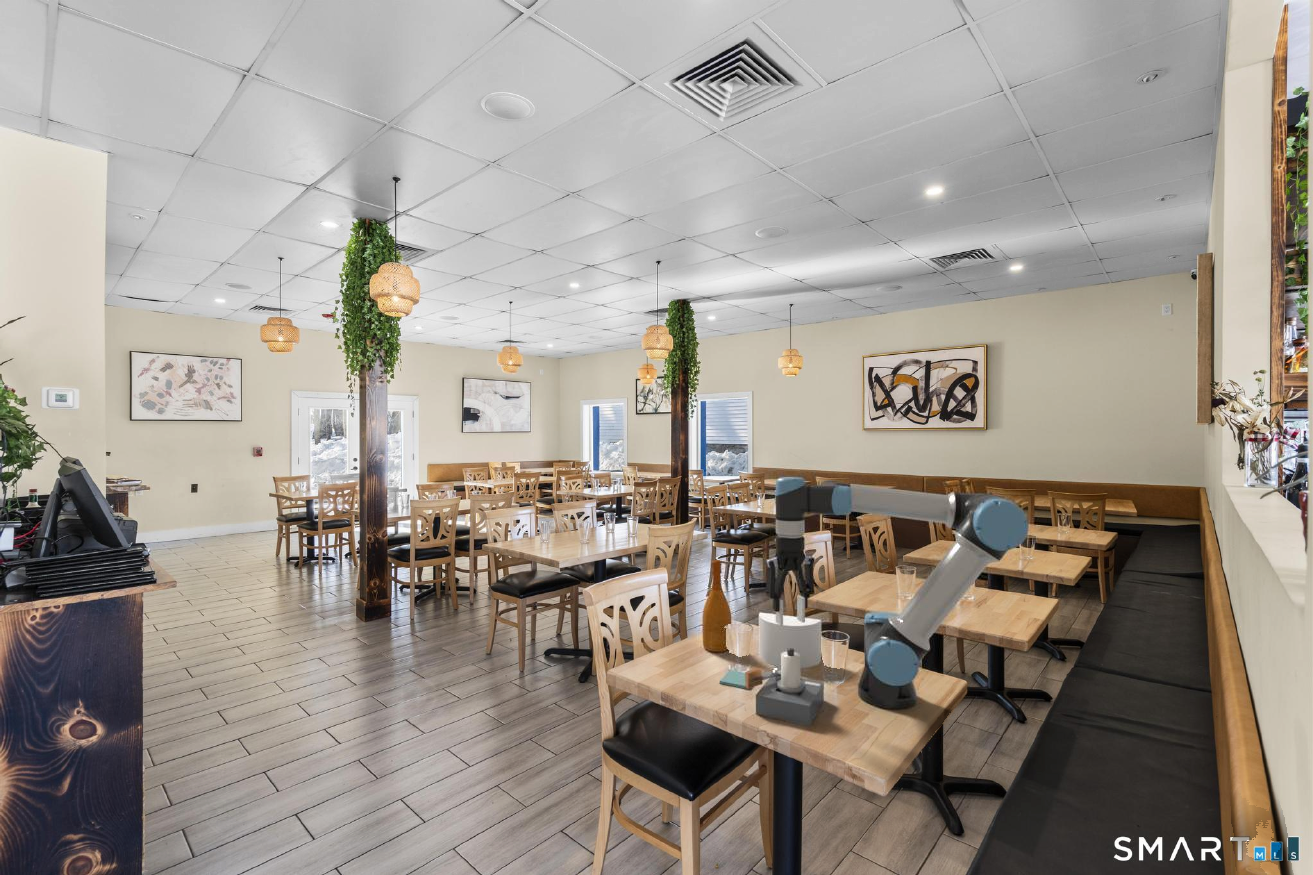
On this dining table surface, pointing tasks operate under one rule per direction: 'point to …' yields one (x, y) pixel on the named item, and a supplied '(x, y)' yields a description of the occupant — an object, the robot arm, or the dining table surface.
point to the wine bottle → (715, 614)
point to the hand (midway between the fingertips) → (790, 621)
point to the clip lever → (760, 676)
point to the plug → (790, 673)
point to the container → (789, 639)
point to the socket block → (790, 701)
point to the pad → (734, 679)
